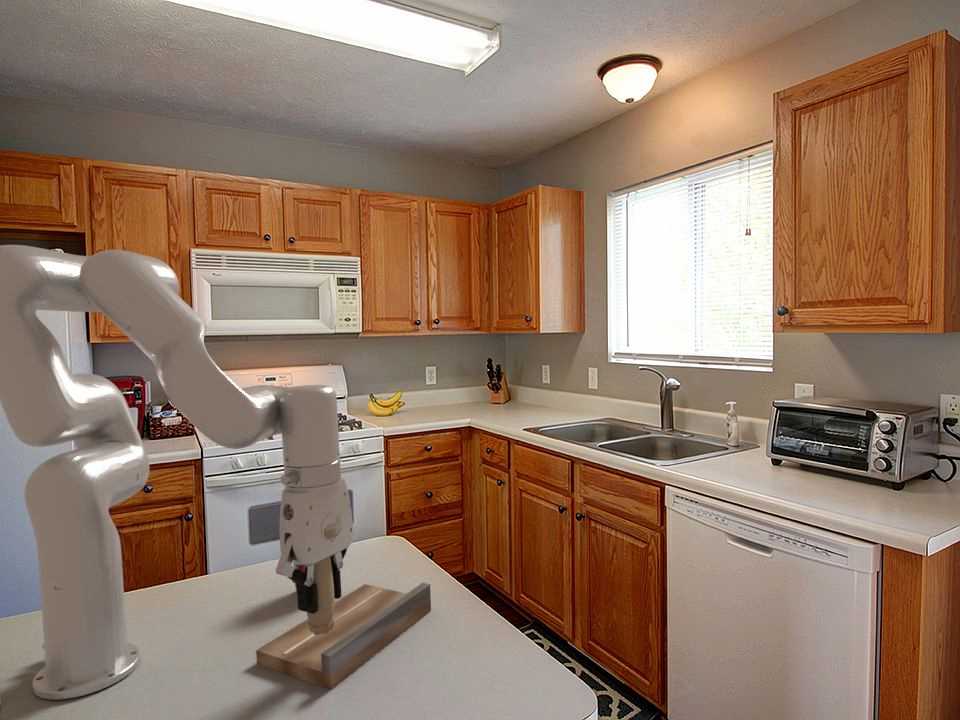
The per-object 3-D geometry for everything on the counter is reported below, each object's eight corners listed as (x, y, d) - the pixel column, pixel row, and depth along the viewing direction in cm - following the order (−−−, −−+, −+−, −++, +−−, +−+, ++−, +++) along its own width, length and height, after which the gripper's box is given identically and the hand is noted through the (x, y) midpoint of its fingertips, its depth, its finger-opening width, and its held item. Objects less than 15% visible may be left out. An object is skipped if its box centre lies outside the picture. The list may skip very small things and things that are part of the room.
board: (256, 663, 84) (255, 633, 83) (365, 595, 105) (364, 570, 104) (331, 689, 77) (329, 656, 77) (431, 610, 98) (430, 584, 98)
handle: (332, 641, 79) (326, 532, 78) (291, 636, 81) (285, 529, 80) (350, 624, 84) (345, 520, 83) (311, 619, 85) (305, 518, 85)
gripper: (286, 492, 72) (294, 638, 73) (372, 463, 87) (378, 584, 88) (244, 487, 76) (253, 625, 76) (334, 459, 90) (340, 576, 91)
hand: (320, 602), depth 82 cm, fingers closed on handle, 3 cm apart
